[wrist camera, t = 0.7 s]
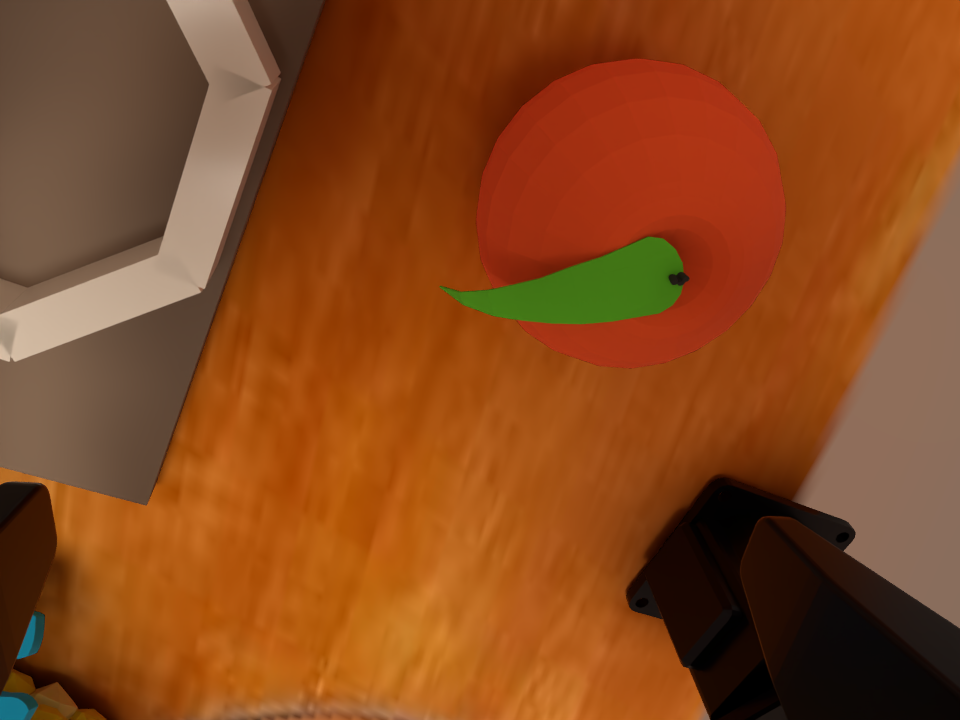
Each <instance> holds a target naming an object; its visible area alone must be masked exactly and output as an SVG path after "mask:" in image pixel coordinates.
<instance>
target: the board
mask: <svg viewBox="0 0 960 720" xmlns="http://www.w3.org/2000/svg"><path fill="white" fill-rule="evenodd" d="M248 2H249V4H250V6H251V9H252V11H253V13H254V15H255V17H256V20H257V22H258V24H259V26H260V28H261V30H262V33H263V35H264V37H265V39H266V41H267V44H268V46H269V48H270V50H271V52H272V54H273V57H274V59H275V61H276V63H277V65H278V68H279V70H280V72H281V73H280V75H279V76H278V77H279V78H281V81H280V84H279V87H278V90H277V93H276V96H275V98H274V101H273V104H272V107H271V110H270V113H269V116H268V119H267V122H266V125H265V128H264V131H263V134H262V137H261V140H260V142H259V145H258V148H257V151H256V154H255V157H254V160H253V163H252V166H251V169H250V172H249V175H248V178H247V181H246V183H245V186H244V189H243V192H242V195H241V198H240V201H239V204H238V207H237V210H236V213H235V216H234V219H233V222H232V225H231V227H230V230H229V233H228V236H227V239H226V242H225V245H224V248H223V251H222V254H221V257H220V260H219V263H218V265H217V267H216V269H215V271H214V272H213V274H212V276H211V278H210V280H209V282H208V284H207V286H206V288H205V289H203V290H202V292H201V293H198V294H196V295H193V296H190V297H188V298H185V299H182V300H180V301H177V302H174V303H172V304H169V305H166V306H163V307H161V308H158V309H155V310H153V311H150V312H147V313H145V314H142V315H139V316H137V317H134V318H131V319H129V320H126V321H123V322H121V323H118V324H115V325H113V326H110V327H107V328H104V329H102V330H99V331H96V332H94V333H91V334H88V335H86V336H83V337H80V338H78V339H75V340H72V341H70V342H67V343H64V344H62V345H59V346H56V347H53V348H51V349H48V350H45V351H43V352H40V353H37V354H35V355H32V356H29V357H27V358H24V359H21V360H19V361H16V362H15V361H14V360H13V359H12V360H11V361H10V362H8V361H5V360H2V359H0V467H3V468H7V469H10V470H14V471H18V472H22V473H26V474H29V475H33V476H37V477H41V478H44V479H48V480H52V481H56V482H59V483H63V484H67V485H71V486H75V487H78V488H82V489H86V490H90V491H93V492H97V493H101V494H105V495H109V496H112V497H116V498H120V499H124V500H127V501H131V502H135V503H139V504H143V505H146V506H147V504H148V501H149V499H150V497H151V494H152V492H153V490H154V487H155V485H156V482H157V479H158V476H159V474H160V471H161V468H162V465H163V462H164V459H165V456H166V454H167V451H168V448H169V445H170V442H171V439H172V437H173V434H174V431H175V428H176V425H177V422H178V419H179V417H180V414H181V411H182V408H183V405H184V402H185V399H186V397H187V394H188V391H189V388H190V385H191V382H192V379H193V377H194V374H195V371H196V368H197V365H198V362H199V360H200V357H201V354H202V351H203V348H204V345H205V342H206V340H207V337H208V334H209V331H210V328H211V325H212V322H213V320H214V317H215V314H216V311H217V308H218V305H219V303H220V300H221V297H222V294H223V291H224V288H225V285H226V283H227V280H228V277H229V274H230V271H231V268H232V265H233V263H234V260H235V257H236V254H237V251H238V248H239V246H240V243H241V240H242V237H243V234H244V231H245V228H246V226H247V223H248V220H249V217H250V214H251V211H252V208H253V206H254V203H255V200H256V197H257V194H258V191H259V189H260V186H261V183H262V180H263V177H264V174H265V171H266V169H267V166H268V163H269V160H270V157H271V154H272V151H273V149H274V146H275V143H276V140H277V137H278V134H279V131H280V129H281V126H282V123H283V120H284V117H285V114H286V112H287V109H288V106H289V103H290V100H291V97H292V94H293V92H294V89H295V86H296V83H297V80H298V77H299V74H300V72H301V69H302V66H303V63H304V60H305V57H306V55H307V52H308V49H309V46H310V43H311V40H312V37H313V35H314V32H315V29H316V26H317V23H318V20H319V17H320V15H321V12H322V9H323V6H324V3H325V0H248ZM208 87H209V83H208V81H207V79H206V77H205V75H204V73H203V71H202V69H201V67H200V65H199V63H198V61H197V59H196V57H195V55H194V53H193V51H192V49H191V47H190V46H189V44H188V42H187V40H186V38H185V36H184V34H183V32H182V30H181V28H180V26H179V24H178V22H177V20H176V18H175V16H174V14H173V12H172V10H171V8H170V6H169V4H168V2H167V0H0V279H3V280H6V281H9V282H12V283H15V284H18V285H21V286H24V287H27V288H28V287H31V286H33V285H36V284H39V283H41V282H44V281H47V280H49V279H52V278H54V277H57V276H60V275H62V274H65V273H68V272H70V271H73V270H76V269H78V268H81V267H83V266H86V265H89V264H91V263H94V262H97V261H99V260H102V259H104V258H107V257H110V256H112V255H115V254H118V253H120V252H123V251H126V250H128V249H131V248H133V247H136V246H139V245H141V244H144V243H147V242H149V241H152V240H154V239H157V238H160V237H162V236H164V233H165V230H166V227H167V223H168V220H169V217H170V213H171V210H172V207H173V203H174V200H175V197H176V193H177V190H178V187H179V183H180V180H181V177H182V174H183V170H184V167H185V164H186V160H187V157H188V154H189V150H190V147H191V144H192V140H193V137H194V134H195V130H196V127H197V124H198V120H199V117H200V114H201V110H202V107H203V104H204V100H205V97H206V94H207V91H208Z"/></svg>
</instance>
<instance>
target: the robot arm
mask: <svg viewBox="0 0 960 720" xmlns="http://www.w3.org/2000/svg"><path fill="white" fill-rule="evenodd" d="M723 491H726V492H725V493H723V494H721V495H719V494H720V493H721V492H723ZM854 538H855V531H854V529H853V528H852V527H851V525H850V524H849V523H848V522H847V521H845V520H842V519H840V518H837V517H834V516H831V515H828V514H825V513H823V512H820V511H817V510H815V509H812V508H809V507H806V506H803V505H801V504H798V503H795V502H792V501H790V500H787V499H784V498H781V497H778V496H776V495H773V494H770V493H767V492H765V491H762V490H759V489H756V488H753V487H751V486H748V485H745V484H742V483H740V482H737V481H734V480H731V479H728V478H720V479H717V480H715V481H713V482H712V483H711V484H710V485H709V486H708V487H707V489H706V490H705V491H704V493H703V494H702V495H701V496H700V498H699V499H698V500H697V502H696V503H695V504H694V506H693V507H692V508H691V510H690V511H689V512H688V514H687V515H686V516H685V517H684V519H683V520H682V521H681V523H680V524H679V525H678V527H677V528H676V529H675V531H674V532H673V533H672V535H671V536H670V537H669V538H668V540H667V541H666V542H665V544H664V545H663V546H662V548H661V549H660V550H659V552H658V553H657V554H656V556H655V557H654V558H653V559H652V561H651V562H650V563H649V565H648V566H647V567H646V569H645V570H644V571H643V573H642V574H641V575H640V577H639V578H638V579H637V580H636V582H635V583H634V584H633V586H632V587H631V588H630V590H629V591H628V593H627V595H626V599H627V602H628V604H629V607H630V608H631V610H633V611H635V612H638V613H642V614H645V615H649V616H653V617H656V618H660V619H663V621H664V623H665V626H666V628H667V630H668V633H669V635H670V638H671V640H672V643H673V645H674V647H675V650H676V652H677V655H678V657H679V660H680V662H681V664H682V665H683V667H686V668H689V670H690V672H691V675H692V677H693V680H694V682H695V684H696V687H697V689H698V691H699V694H700V696H701V699H702V701H703V703H704V706H705V708H706V711H707V713H708V715H709V718H710V720H960V628H958V627H957V626H955V625H954V624H952V623H951V622H949V621H948V620H946V619H945V618H943V617H942V616H940V615H939V614H937V613H936V612H934V611H932V610H931V609H930V608H928V607H927V606H925V605H923V604H922V603H920V602H919V601H917V600H916V599H914V598H913V597H911V596H910V595H908V594H907V593H905V592H904V591H902V590H901V589H899V588H898V587H896V586H895V585H893V584H892V583H890V582H889V581H887V580H886V579H884V578H883V577H881V576H880V575H878V574H877V573H875V572H874V571H872V570H871V569H869V568H868V567H866V566H865V565H863V564H862V563H860V562H858V561H857V560H855V559H854V558H852V557H851V556H849V555H848V554H846V553H845V552H843V551H844V550H845V549H846V547H847V546H848V545H849V544H850V543H851V542H852V541H853V539H854ZM56 547H57V534H56V528H55V522H54V517H53V511H52V505H51V499H50V494H49V491H48V489H47V487H46V486H45V485H43V484H41V483H32V482H6V483H3V484H1V485H0V695H1V693H2V691H3V689H4V687H5V685H6V683H7V680H8V678H9V676H10V674H11V671H12V669H13V666H14V664H15V661H16V659H17V656H18V653H19V651H20V648H21V645H22V643H23V640H24V637H25V635H26V632H27V629H28V627H29V624H30V621H31V618H32V616H33V613H34V610H35V608H36V605H37V602H38V600H39V597H40V594H41V592H42V589H43V586H44V583H45V581H46V578H47V575H48V573H49V570H50V567H51V565H52V562H53V559H54V556H55V552H56ZM641 598H642V599H641Z"/></svg>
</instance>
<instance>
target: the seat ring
mask: <svg viewBox="0 0 960 720" xmlns="http://www.w3.org/2000/svg"><path fill="white" fill-rule="evenodd" d="M167 2H168V4H169V6H170V8H171V10H172V12H173V14H174V16H175V18H176V20H177V22H178V24H179V26H180V28H181V30H182V32H183V34H184V36H185V38H186V40H187V42H188V44H189V46H190V47H191V49H192V51H193V53H194V55H195V57H196V59H197V61H198V63H199V65H200V67H201V69H202V71H203V73H204V75H205V77H206V79H207V81H208V83H209V87H208V91H207V94H206V97H205V100H204V104H203V107H202V110H201V114H200V117H199V120H198V124H197V127H196V130H195V134H194V137H193V140H192V144H191V147H190V150H189V154H188V157H187V160H186V164H185V167H184V170H183V174H182V177H181V180H180V183H179V187H178V190H177V193H176V197H175V200H174V203H173V207H172V210H171V213H170V217H169V220H168V223H167V227H166V230H165V233H164V236H162V237H160V238H157V239H154V240H152V241H149V242H147V243H144V244H141V245H139V246H136V247H133V248H131V249H128V250H126V251H123V252H120V253H118V254H115V255H112V256H110V257H107V258H104V259H102V260H99V261H97V262H94V263H91V264H89V265H86V266H83V267H81V268H78V269H76V270H73V271H70V272H68V273H65V274H62V275H60V276H57V277H54V278H52V279H49V280H47V281H44V282H41V283H39V284H36V285H33V286H31V287H28V288H27V287H24V286H21V285H18V284H15V283H12V282H9V281H6V280H3V279H0V359H2V360H5V361H8V362H10V361H11V360H12V359H13V360H14V361H15V362H16V361H19V360H21V359H24V358H27V357H29V356H32V355H35V354H37V353H40V352H43V351H45V350H48V349H51V348H53V347H56V346H59V345H62V344H64V343H67V342H70V341H72V340H75V339H78V338H80V337H83V336H86V335H88V334H91V333H94V332H96V331H99V330H102V329H104V328H107V327H110V326H113V325H115V324H118V323H121V322H123V321H126V320H129V319H131V318H134V317H137V316H139V315H142V314H145V313H147V312H150V311H153V310H155V309H158V308H161V307H163V306H166V305H169V304H172V303H174V302H177V301H180V300H182V299H185V298H188V297H190V296H193V295H196V294H198V293H201V292H202V290H203V289H205V288H206V286H207V284H208V282H209V280H210V278H211V276H212V274H213V272H214V271H215V269H216V267H217V265H218V263H219V260H220V257H221V254H222V251H223V248H224V245H225V242H226V239H227V236H228V233H229V230H230V227H231V225H232V222H233V219H234V216H235V213H236V210H237V207H238V204H239V201H240V198H241V195H242V192H243V189H244V186H245V183H246V181H247V178H248V175H249V172H250V169H251V166H252V163H253V160H254V157H255V154H256V151H257V148H258V145H259V142H260V140H261V137H262V134H263V131H264V128H265V125H266V122H267V119H268V116H269V113H270V110H271V107H272V104H273V101H274V98H275V96H276V93H277V90H278V87H279V84H280V81H281V78H279V77H278V76H279V75H280V73H281V72H280V70H279V68H278V65H277V63H276V61H275V59H274V57H273V54H272V52H271V50H270V48H269V46H268V44H267V41H266V39H265V37H264V35H263V33H262V30H261V28H260V26H259V24H258V22H257V20H256V17H255V15H254V13H253V11H252V9H251V6H250V4H249V2H248V0H167Z"/></svg>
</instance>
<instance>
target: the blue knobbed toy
mask: <svg viewBox="0 0 960 720" xmlns="http://www.w3.org/2000/svg"><path fill="white" fill-rule="evenodd" d="M44 625H45V615H44V614H42V613H40V612H36V611H34V613H33V616H32V618H31V621H30V624H29V627H28V629H27V632H26V635H25V637H24V640H23V643H22V645H21V648H20V651H19V653H18V656H17V659H20V658H24V657H27V656H30V655H33V654H35V653H37V652H38V650H39V648H40V646H41V643H42V639H43V634H44ZM37 707H38V704H37V702H36V700H35V699H34V698H33V697H32V696H30V695H29V694H26V693H22V692H6V691H2V693H1V695H0V720H30V719H31V718H32V716H33V714H34V713H35V711H36V709H37Z"/></svg>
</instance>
